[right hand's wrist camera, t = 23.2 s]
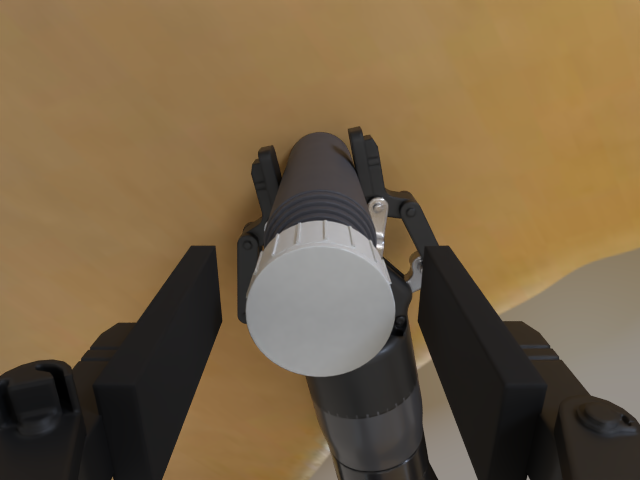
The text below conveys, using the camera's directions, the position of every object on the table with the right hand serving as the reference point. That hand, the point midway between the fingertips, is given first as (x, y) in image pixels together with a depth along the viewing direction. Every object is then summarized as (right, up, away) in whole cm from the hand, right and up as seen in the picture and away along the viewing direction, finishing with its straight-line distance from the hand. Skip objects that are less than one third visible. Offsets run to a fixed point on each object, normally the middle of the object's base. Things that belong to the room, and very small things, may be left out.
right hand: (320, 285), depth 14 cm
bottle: (0, +7, +18) cm, 19 cm away
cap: (0, -1, -1) cm, 2 cm away
